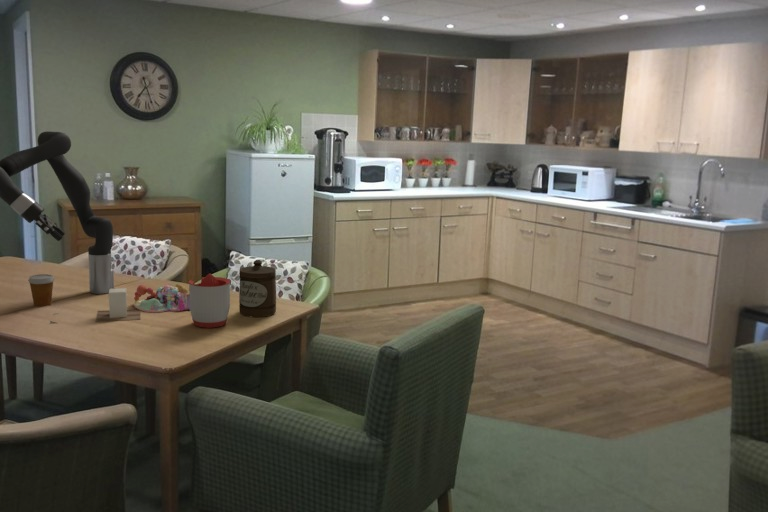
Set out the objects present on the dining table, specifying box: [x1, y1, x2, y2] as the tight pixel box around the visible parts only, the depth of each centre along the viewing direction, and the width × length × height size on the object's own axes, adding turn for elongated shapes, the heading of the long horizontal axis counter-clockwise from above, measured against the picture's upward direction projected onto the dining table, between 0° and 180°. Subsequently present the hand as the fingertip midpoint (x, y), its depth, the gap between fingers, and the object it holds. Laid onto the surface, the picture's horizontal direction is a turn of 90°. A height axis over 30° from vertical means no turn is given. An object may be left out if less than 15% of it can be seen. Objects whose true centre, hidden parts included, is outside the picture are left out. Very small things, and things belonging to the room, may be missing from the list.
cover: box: [108, 287, 128, 318], centre depth 274 cm, size 6×6×10 cm
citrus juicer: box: [188, 273, 232, 329], centre depth 269 cm, size 16×17×20 cm
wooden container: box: [238, 259, 277, 318], centre depth 287 cm, size 15×15×22 cm
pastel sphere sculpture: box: [133, 283, 190, 314], centre depth 292 cm, size 25×24×9 cm
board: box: [95, 308, 141, 323], centre depth 275 cm, size 16×16×1 cm
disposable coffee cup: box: [28, 273, 55, 307], centre depth 286 cm, size 10×10×12 cm
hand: (62, 237), depth 269 cm, fingers open, 8 cm apart
